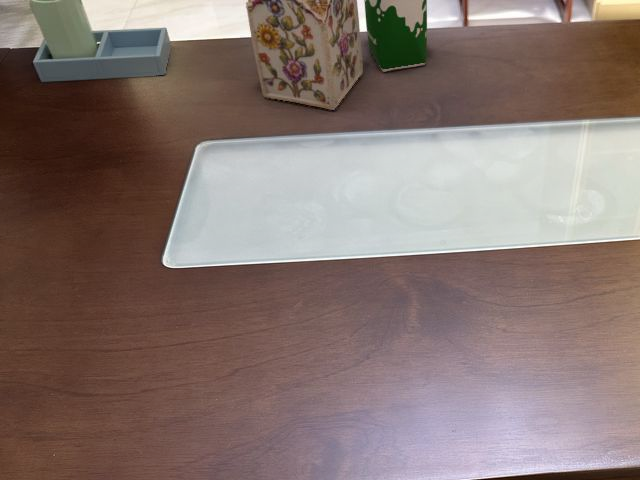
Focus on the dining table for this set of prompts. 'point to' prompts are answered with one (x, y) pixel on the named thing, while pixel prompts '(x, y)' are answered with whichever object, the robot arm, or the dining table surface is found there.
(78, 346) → the dining table surface
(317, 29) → the decorative jar
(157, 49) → the divided tray
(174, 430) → the dining table surface
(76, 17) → the cup
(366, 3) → the milk carton
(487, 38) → the dining table surface
